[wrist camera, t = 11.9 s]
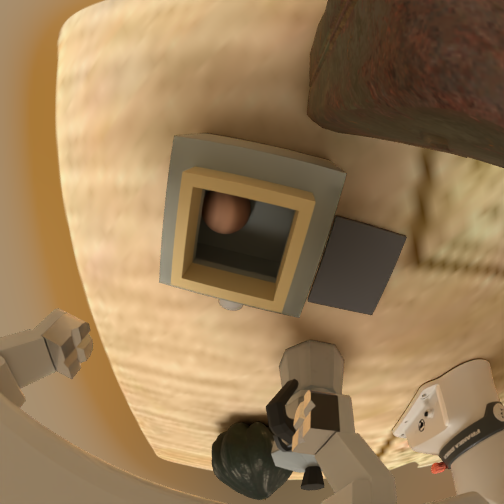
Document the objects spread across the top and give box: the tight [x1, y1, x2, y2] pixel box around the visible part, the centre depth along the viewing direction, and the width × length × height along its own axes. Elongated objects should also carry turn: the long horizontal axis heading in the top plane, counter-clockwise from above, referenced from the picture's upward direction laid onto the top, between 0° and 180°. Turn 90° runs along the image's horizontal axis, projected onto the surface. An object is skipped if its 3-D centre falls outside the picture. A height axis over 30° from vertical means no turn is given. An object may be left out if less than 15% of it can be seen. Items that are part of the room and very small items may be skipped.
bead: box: [202, 190, 251, 234], centre depth 25 cm, size 4×4×4 cm
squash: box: [212, 422, 293, 500], centre depth 39 cm, size 14×15×15 cm
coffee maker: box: [266, 340, 344, 490], centre depth 27 cm, size 15×9×18 cm, turn 33°
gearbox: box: [159, 133, 347, 318], centre depth 24 cm, size 15×12×10 cm
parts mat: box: [308, 215, 407, 315], centre depth 29 cm, size 10×8×1 cm
